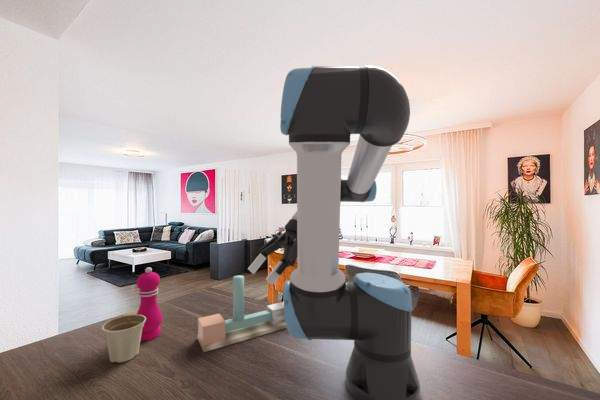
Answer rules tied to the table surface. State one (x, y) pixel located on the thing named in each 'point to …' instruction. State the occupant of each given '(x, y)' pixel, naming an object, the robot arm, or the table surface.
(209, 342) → the socket block
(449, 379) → the table surface
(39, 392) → the table surface
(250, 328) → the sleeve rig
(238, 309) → the upright post with base
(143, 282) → the pepper mill
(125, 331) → the flower pot
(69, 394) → the table surface
